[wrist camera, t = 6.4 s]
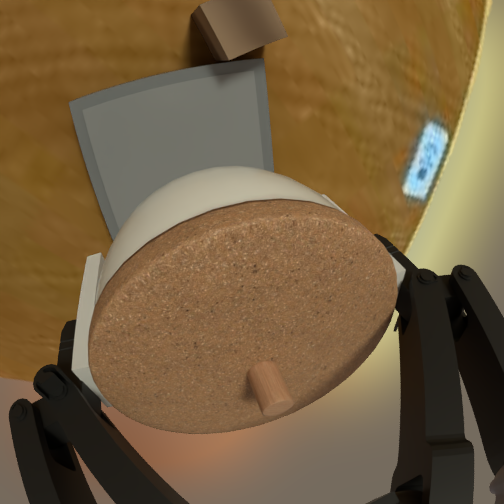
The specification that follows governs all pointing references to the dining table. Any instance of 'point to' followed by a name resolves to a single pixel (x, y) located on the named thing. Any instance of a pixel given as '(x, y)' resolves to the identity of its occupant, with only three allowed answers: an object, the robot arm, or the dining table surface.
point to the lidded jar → (235, 302)
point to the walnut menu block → (237, 26)
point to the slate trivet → (171, 130)
